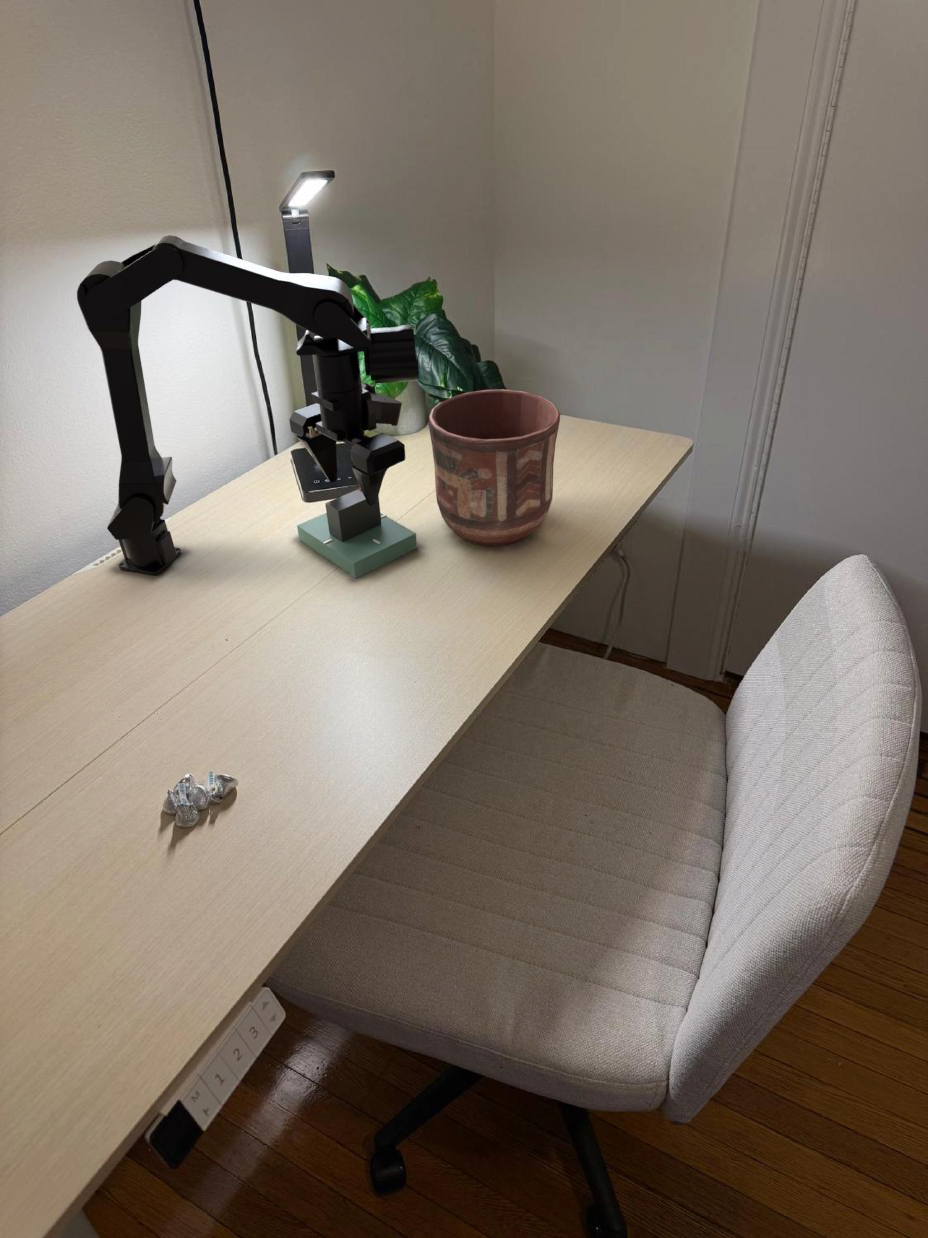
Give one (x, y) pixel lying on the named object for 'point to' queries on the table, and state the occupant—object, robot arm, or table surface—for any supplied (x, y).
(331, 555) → the green flat block
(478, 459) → the pottery
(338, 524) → the block
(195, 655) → the table surface
